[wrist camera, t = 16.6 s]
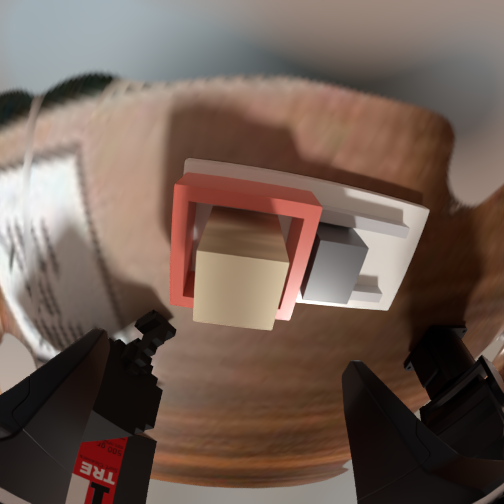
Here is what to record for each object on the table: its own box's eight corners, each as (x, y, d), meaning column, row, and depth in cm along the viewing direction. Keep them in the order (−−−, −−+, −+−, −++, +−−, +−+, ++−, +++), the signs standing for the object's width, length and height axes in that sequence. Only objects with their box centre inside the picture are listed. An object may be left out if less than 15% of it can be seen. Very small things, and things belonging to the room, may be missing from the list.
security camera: (196, 339, 24) (178, 440, 15) (95, 387, 29) (71, 450, 20) (140, 286, 21) (91, 385, 12) (53, 353, 26) (20, 415, 17)
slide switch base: (423, 205, 18) (452, 226, 15) (383, 303, 22) (401, 334, 19) (188, 158, 17) (171, 170, 13) (179, 278, 21) (167, 312, 17)
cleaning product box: (156, 441, 36) (139, 546, 18) (150, 454, 39) (136, 543, 22) (63, 404, 33) (28, 502, 15) (69, 423, 36) (42, 507, 19)
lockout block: (277, 214, 18) (289, 262, 12) (266, 269, 19) (271, 330, 14) (213, 205, 17) (196, 250, 12) (207, 261, 19) (192, 320, 14)
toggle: (352, 227, 18) (368, 248, 15) (335, 278, 20) (347, 304, 17) (310, 219, 18) (320, 240, 15) (295, 273, 19) (302, 299, 17)
